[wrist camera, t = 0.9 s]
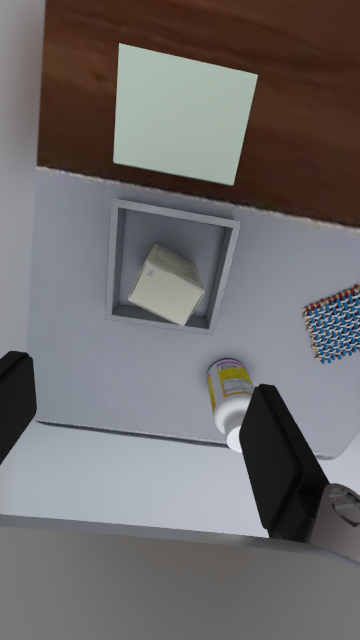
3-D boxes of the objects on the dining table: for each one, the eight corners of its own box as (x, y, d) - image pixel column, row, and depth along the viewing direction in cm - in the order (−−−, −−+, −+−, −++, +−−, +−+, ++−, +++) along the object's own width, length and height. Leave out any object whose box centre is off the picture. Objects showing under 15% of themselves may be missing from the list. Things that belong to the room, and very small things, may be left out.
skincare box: (141, 270, 34) (122, 299, 23) (155, 241, 33) (142, 257, 21) (182, 291, 35) (183, 329, 24) (197, 264, 34) (206, 291, 23)
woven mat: (370, 276, 35) (381, 280, 33) (380, 336, 39) (390, 342, 37) (297, 305, 37) (304, 310, 35) (313, 360, 41) (320, 367, 39)
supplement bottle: (225, 396, 43) (243, 466, 31) (198, 375, 41) (206, 441, 29) (255, 372, 41) (285, 437, 29) (227, 349, 39) (248, 409, 27)
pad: (255, 79, 26) (257, 74, 25) (231, 186, 30) (233, 185, 29) (121, 49, 25) (119, 43, 24) (115, 163, 29) (113, 162, 28)
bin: (234, 220, 32) (241, 221, 28) (210, 323, 37) (213, 335, 34) (119, 199, 30) (111, 197, 27) (112, 308, 36) (105, 319, 33)
